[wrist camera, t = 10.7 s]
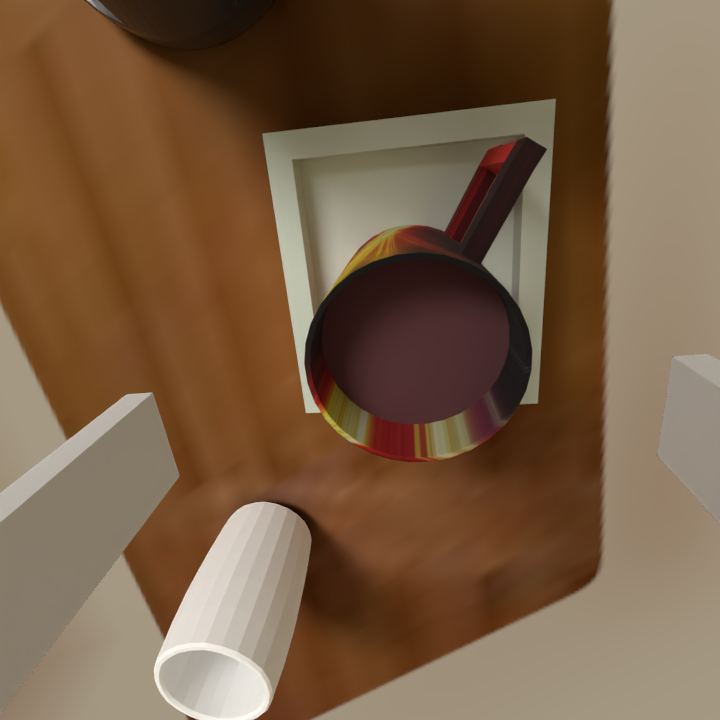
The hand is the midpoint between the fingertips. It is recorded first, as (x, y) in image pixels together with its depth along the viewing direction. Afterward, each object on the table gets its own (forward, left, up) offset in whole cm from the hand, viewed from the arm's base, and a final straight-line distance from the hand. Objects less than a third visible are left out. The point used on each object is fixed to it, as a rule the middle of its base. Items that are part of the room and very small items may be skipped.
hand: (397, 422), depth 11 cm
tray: (0, +1, -21) cm, 21 cm away
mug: (0, +1, -20) cm, 20 cm away
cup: (+23, -13, -22) cm, 34 cm away
